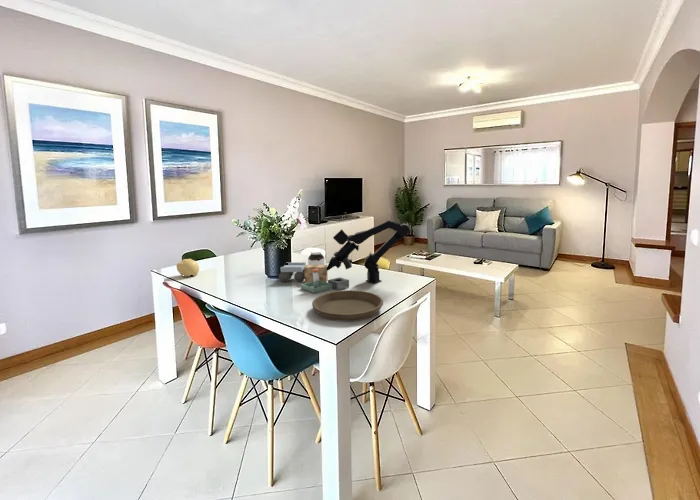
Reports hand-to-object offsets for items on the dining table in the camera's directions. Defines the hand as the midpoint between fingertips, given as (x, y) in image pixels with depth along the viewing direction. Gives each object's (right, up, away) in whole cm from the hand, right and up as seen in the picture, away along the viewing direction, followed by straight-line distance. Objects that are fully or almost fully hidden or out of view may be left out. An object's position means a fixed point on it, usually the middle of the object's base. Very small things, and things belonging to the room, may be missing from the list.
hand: (327, 269), depth 207 cm
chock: (-6, -7, +2) cm, 9 cm away
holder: (+7, -9, -10) cm, 15 cm away
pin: (-5, -9, -12) cm, 16 cm away
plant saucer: (+12, -16, -45) cm, 49 cm away
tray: (-5, -9, -12) cm, 16 cm away
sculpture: (-87, -5, +22) cm, 90 cm away
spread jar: (-8, -2, +30) cm, 31 cm away
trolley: (-20, -6, +8) cm, 22 cm away
